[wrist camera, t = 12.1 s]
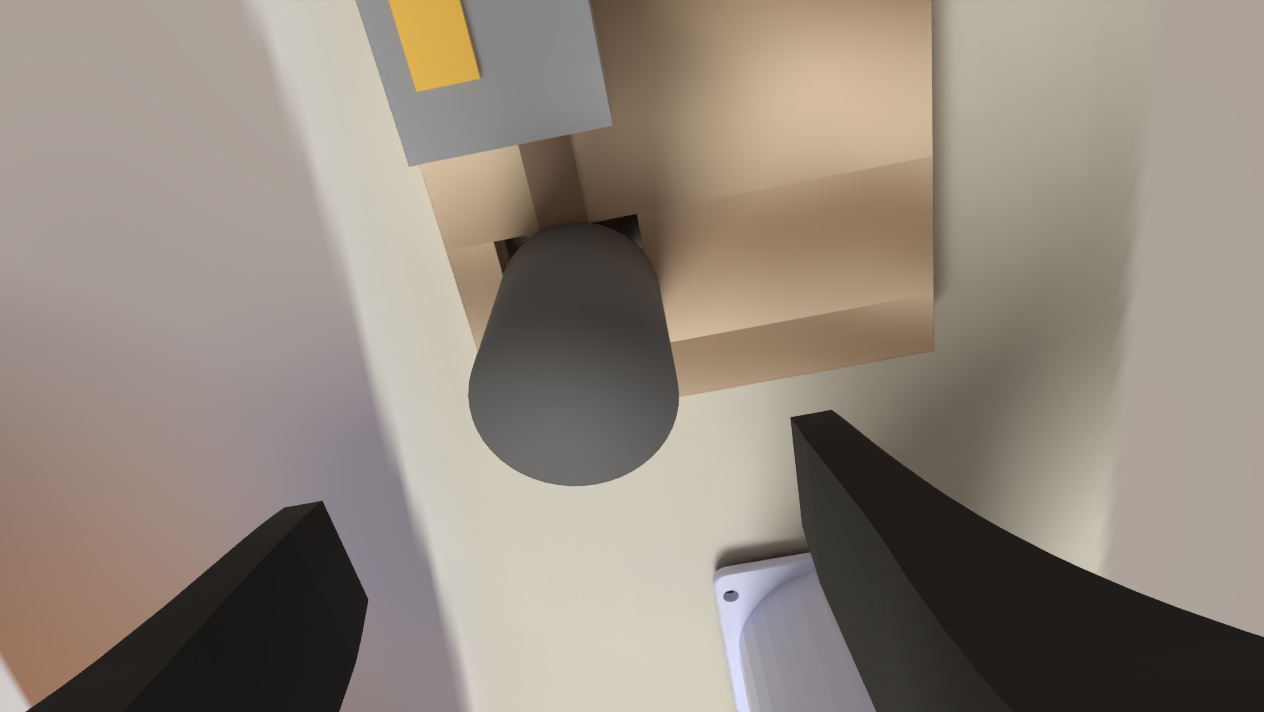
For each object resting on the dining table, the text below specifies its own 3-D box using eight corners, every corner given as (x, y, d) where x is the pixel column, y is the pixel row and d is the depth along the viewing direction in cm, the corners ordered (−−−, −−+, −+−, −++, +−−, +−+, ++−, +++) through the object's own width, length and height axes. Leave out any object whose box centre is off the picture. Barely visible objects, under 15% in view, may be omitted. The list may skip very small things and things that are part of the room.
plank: (913, 327, 22) (935, 352, 20) (508, 402, 22) (501, 430, 21) (899, -344, 15) (931, -378, 14) (321, -211, 16) (292, -230, 14)
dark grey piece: (666, 324, 21) (693, 466, 15) (529, 350, 22) (499, 501, 15) (641, 186, 20) (659, 284, 13) (491, 216, 20) (441, 326, 14)
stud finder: (610, 102, 17) (612, 127, 14) (439, 136, 17) (407, 168, 14) (560, -160, 15) (550, -192, 12) (363, -116, 15) (309, -138, 12)
